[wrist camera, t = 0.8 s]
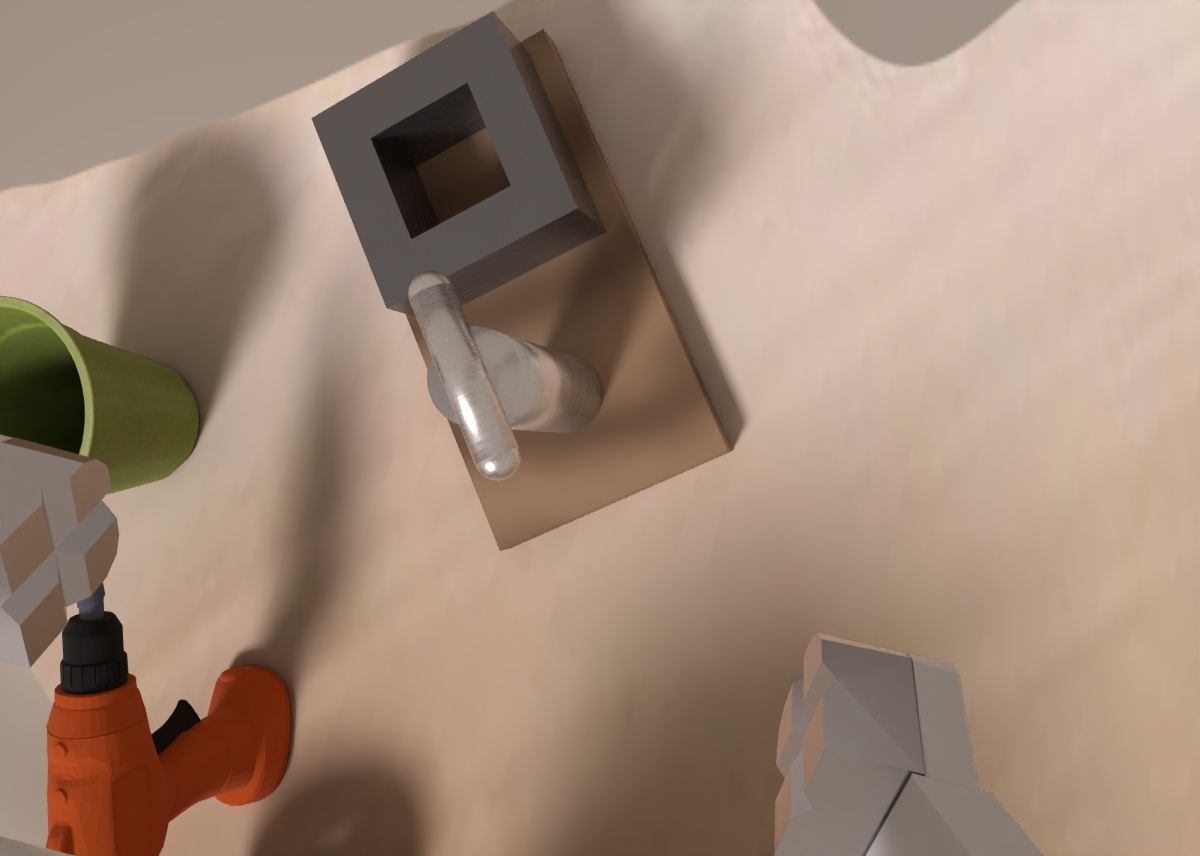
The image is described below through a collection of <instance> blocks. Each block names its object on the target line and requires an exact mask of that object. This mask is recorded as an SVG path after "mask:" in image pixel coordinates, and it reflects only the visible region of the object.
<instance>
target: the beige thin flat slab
mask: <svg viewBox="0 0 1200 856" xmlns="http://www.w3.org/2000/svg"><path fill="white" fill-rule="evenodd" d="M521 44H522V45H523V47H524V48H525V49H526V50H527V51H528V52H529V54H530V57H531V59H532V61H533V64H534V66H535V68H536V71H537V73H538V75H539V77H540V80H541V82H542V84H543V87H544V89H545V91H546V94H547V96H548V98H549V100H550V103H551V105H552V107H553V110H554V112H555V114H556V117H557V119H558V121H559V124H560V126H561V128H562V130H563V133H564V135H565V137H566V140H567V142H568V144H569V147H570V149H571V151H572V153H573V156H574V158H575V160H576V163H577V165H578V167H579V170H580V172H581V174H582V177H583V179H584V181H585V183H586V186H587V188H588V190H589V193H590V195H591V197H592V200H593V202H594V204H595V206H596V209H597V211H598V213H599V216H600V218H601V220H602V223H603V225H604V227H605V230H606V232H605V233H603V234H601V235H599V236H597V237H595V238H593V239H591V240H589V241H587V242H586V243H584V244H582V245H580V246H578V247H576V248H574V249H572V250H570V251H568V252H566V253H564V254H562V255H560V256H558V257H556V258H554V259H552V260H550V261H548V262H546V263H545V264H543V265H541V266H539V267H537V268H535V269H533V270H531V271H529V272H527V273H525V274H523V275H521V276H519V277H517V278H515V279H513V280H511V281H509V282H507V283H505V284H504V285H502V286H500V287H498V288H496V289H494V290H492V291H490V292H488V293H486V294H484V295H482V296H480V297H478V298H476V299H474V300H472V301H470V302H468V303H466V304H464V305H463V306H461V307H462V309H463V312H464V314H465V317H466V319H467V322H468V324H469V327H471V326H480V327H485V328H489V329H492V330H495V331H498V332H501V333H504V334H507V335H510V336H513V337H517V338H520V339H523V340H526V341H529V342H532V343H535V344H538V345H541V346H544V347H547V348H551V349H554V350H557V351H560V352H563V353H566V354H569V355H572V356H575V357H578V358H581V359H583V360H585V361H586V362H588V363H589V364H590V365H591V366H592V367H593V368H594V369H595V371H596V372H597V374H598V376H599V378H600V380H601V383H602V388H603V399H602V404H601V407H600V410H599V412H598V414H597V415H596V417H595V418H594V420H593V421H592V422H591V423H590V424H589V425H587V426H586V427H585V428H583V429H581V430H579V431H576V432H572V433H554V432H540V431H526V430H512V429H511V430H512V432H513V434H514V437H515V439H516V442H517V444H518V447H519V449H520V453H521V461H520V465H519V467H518V469H517V471H516V472H515V473H514V474H513V475H512V476H511V477H509V478H507V479H504V480H499V481H496V480H490V479H488V478H486V477H484V476H483V475H482V474H480V472H479V471H478V470H477V468H476V466H475V463H474V461H473V458H472V456H471V453H470V451H469V448H468V446H467V444H466V441H465V439H464V436H463V434H462V431H461V429H460V426H459V424H456V423H454V422H452V421H450V420H449V419H448V422H449V424H450V427H451V429H452V432H453V434H454V437H455V439H456V442H457V444H458V447H459V449H460V452H461V454H462V457H463V459H464V462H465V464H466V467H467V469H468V472H469V474H470V477H471V479H472V482H473V484H474V487H475V489H476V492H477V494H478V497H479V499H480V502H481V504H482V507H483V509H484V512H485V514H486V517H487V519H488V522H489V524H490V527H491V529H492V532H493V534H494V537H495V539H496V542H497V544H498V547H499V550H500V551H501V550H505V549H509V548H512V547H514V546H516V545H519V544H521V543H523V542H526V541H528V540H530V539H532V538H535V537H537V536H539V535H542V534H544V533H546V532H548V531H551V530H553V529H555V528H557V527H560V526H562V525H564V524H567V523H569V522H571V521H573V520H576V519H578V518H580V517H583V516H585V515H587V514H589V513H592V512H594V511H596V510H599V509H601V508H603V507H605V506H608V505H610V504H612V503H615V502H617V501H619V500H621V499H624V498H626V497H628V496H630V495H633V494H635V493H637V492H640V491H642V490H644V489H646V488H649V487H651V486H653V485H656V484H658V483H660V482H662V481H665V480H667V479H669V478H672V477H674V476H676V475H678V474H681V473H683V472H685V471H688V470H690V469H692V468H694V467H697V466H699V465H701V464H703V463H706V462H708V461H710V460H713V459H715V458H717V457H719V456H722V455H724V454H726V453H729V452H731V451H732V449H731V447H730V444H729V442H728V440H727V438H726V435H725V433H724V431H723V428H722V426H721V424H720V422H719V419H718V417H717V415H716V412H715V410H714V408H713V406H712V403H711V401H710V399H709V396H708V394H707V392H706V390H705V387H704V385H703V383H702V381H701V378H700V376H699V374H698V371H697V369H696V367H695V365H694V362H693V360H692V358H691V355H690V353H689V351H688V349H687V346H686V344H685V342H684V339H683V337H682V335H681V333H680V330H679V328H678V326H677V324H676V321H675V319H674V317H673V314H672V312H671V310H670V308H669V305H668V303H667V301H666V298H665V296H664V294H663V292H662V289H661V287H660V285H659V282H658V280H657V278H656V276H655V273H654V271H653V269H652V267H651V264H650V262H649V260H648V257H647V255H646V253H645V251H644V248H643V246H642V244H641V241H640V239H639V237H638V235H637V232H636V230H635V228H634V225H633V223H632V221H631V219H630V216H629V214H628V212H627V209H626V207H625V205H624V203H623V200H622V198H621V196H620V194H619V191H618V189H617V187H616V184H615V182H614V180H613V178H612V175H611V173H610V171H609V168H608V166H607V164H606V162H605V159H604V157H603V155H602V152H601V150H600V148H599V146H598V143H597V141H596V139H595V137H594V134H593V132H592V130H591V127H590V125H589V123H588V121H587V118H586V116H585V114H584V111H583V109H582V107H581V105H580V102H579V100H578V98H577V95H576V93H575V91H574V89H573V86H572V84H571V82H570V80H569V77H568V75H567V73H566V70H565V68H564V66H563V64H562V61H561V59H560V57H559V54H558V52H557V50H556V48H555V45H554V43H553V41H552V40H551V38H550V37H549V36H548V34H547V33H546V32H545V31H544V29H543V30H541V31H540V32H538V33H536V34H535V35H533V36H531V37H529V38H528V39H526V40H524V41H522V42H521ZM416 168H417V170H418V172H419V175H420V177H421V180H422V182H423V185H424V187H425V190H426V192H427V194H428V197H429V199H430V202H431V204H432V207H433V209H434V212H435V214H436V216H437V219H438V221H439V224H441V223H443V222H444V221H446V220H448V219H450V218H452V217H454V216H456V215H457V214H459V213H461V212H463V211H465V210H467V209H469V208H470V207H472V206H474V205H476V204H478V203H480V202H482V201H483V200H485V199H487V198H489V197H491V196H493V195H495V194H496V193H498V192H500V191H502V190H504V189H506V188H508V187H509V186H511V185H510V182H509V180H508V178H507V175H506V173H505V171H504V168H503V166H502V163H501V161H500V159H499V156H498V154H497V152H496V149H495V147H494V145H493V142H492V140H491V137H490V135H489V133H488V130H487V128H484V129H483V130H481V131H479V132H477V133H475V134H474V135H472V136H470V137H468V138H467V139H465V140H463V141H461V142H459V143H458V144H456V145H454V146H452V147H450V148H449V149H447V150H445V151H443V152H441V153H440V154H438V155H436V156H434V157H432V158H431V159H429V160H427V161H425V162H424V163H422V164H420V165H418V166H416ZM406 316H407V319H408V321H409V324H410V326H411V329H412V331H413V334H414V336H415V339H416V341H417V344H418V346H419V349H420V351H421V354H422V356H423V359H424V361H425V364H426V366H427V369H428V366H429V362H430V359H431V357H432V356H431V354H430V351H429V349H428V346H427V344H426V341H425V339H424V336H423V334H422V331H421V329H420V326H419V324H418V321H417V319H416V317H415V316H411V315H408V314H406Z"/></svg>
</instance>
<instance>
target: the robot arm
mask: <svg viewBox="0 0 1200 856" xmlns="http://www.w3.org/2000/svg"><path fill="white" fill-rule="evenodd" d="M111 489H112V486H111V481H110V476H109V472H108V467H107V465H106V464H104V463H102V462H101V461H99V460H97V459H94V458H90V457H87V456H83V455H79V454H75V453H72V452H68V451H64V450H61V449H57V448H53V447H49V446H46V445H42V444H38V443H34V442H31V441H27V440H23V439H19V438H12V437H8V436H4V435H1V434H0V661H2V662H7V663H11V664H15V665H20V666H24V667H29V668H30V667H31V666H32V665H33V664H34V663H35V662H36V660H37V659H38V658H39V657H40V656H41V655H42V653H43V652H44V651H45V650H46V649H47V648H48V646H49V645H50V644H51V643H52V642H53V641H54V639H55V638H56V637H57V636H58V635H59V634H60V632H61V631H62V630H63V629H64V628H65V627H66V625H67V609H66V607H67V606H70V605H72V604H74V603H76V602H79V601H81V600H83V599H86V598H88V597H90V596H92V595H93V594H94V592H95V591H96V590H97V589H98V587H99V586H100V585H101V584H102V582H103V581H104V580H105V579H106V577H107V575H108V573H109V570H110V568H111V566H112V564H113V561H114V559H115V557H116V554H117V547H118V539H119V531H118V524H117V518H116V517H115V515H114V514H113V513H112V512H111V511H110V509H109V508H108V507H107V506H106V505H105V503H104V502H103V501H102V499H103V498H104V496H105V495H106V494H107V493H108V492H109V491H110V490H111ZM776 766H777V768H778V769H779V771H780V772H781V774H782V775H783V777H784V782H783V784H782V786H781V789H780V791H779V793H778V796H777V798H776V800H775V837H774V856H1043V854H1042V853H1041V852H1040V851H1039V849H1038V848H1037V847H1036V846H1035V845H1034V843H1033V842H1032V841H1031V840H1030V838H1029V837H1028V836H1027V835H1026V833H1025V832H1024V831H1023V830H1022V828H1021V827H1020V826H1019V825H1018V823H1017V822H1016V821H1015V820H1014V818H1013V817H1012V816H1011V815H1010V814H1009V812H1008V811H1007V810H1006V809H1005V807H1004V806H1003V805H1002V804H1001V802H1000V801H999V800H998V799H997V797H996V796H995V795H994V794H992V793H988V792H985V791H981V790H980V789H979V783H978V778H977V772H976V766H975V761H974V755H973V749H972V744H971V738H970V732H969V727H968V721H967V715H966V710H965V704H964V698H963V693H962V687H961V681H960V675H959V671H958V670H957V668H956V667H955V665H954V664H953V663H949V662H945V661H940V660H936V659H931V658H927V657H923V656H918V655H914V654H909V653H907V654H905V653H903V652H899V651H895V650H891V649H886V648H882V647H878V646H873V645H869V644H865V643H860V642H856V641H852V640H848V639H843V638H839V637H835V636H830V635H826V634H822V633H817V632H816V634H815V635H814V636H813V638H812V639H811V640H810V643H809V645H808V647H807V650H806V652H805V654H804V677H803V678H801V679H799V680H797V681H795V682H793V683H792V686H791V689H790V691H789V694H788V697H787V699H786V702H785V705H784V709H783V714H782V718H781V722H780V726H779V734H778V742H777V759H776ZM0 856H74V855H70V854H66V853H62V852H59V851H55V850H51V849H47V848H43V847H39V846H36V845H32V844H28V843H24V842H20V841H16V840H13V839H9V838H5V837H1V836H0Z"/></svg>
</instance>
